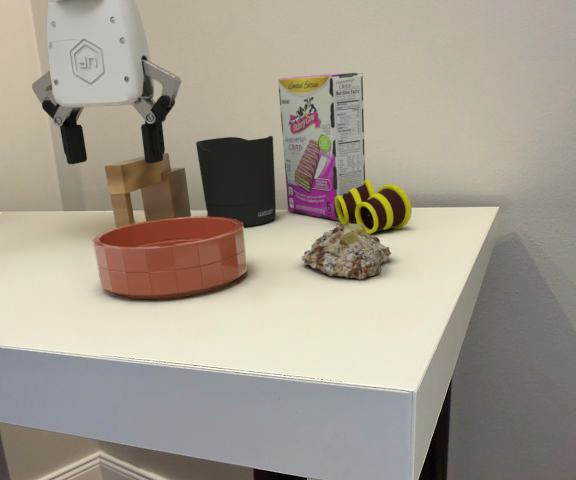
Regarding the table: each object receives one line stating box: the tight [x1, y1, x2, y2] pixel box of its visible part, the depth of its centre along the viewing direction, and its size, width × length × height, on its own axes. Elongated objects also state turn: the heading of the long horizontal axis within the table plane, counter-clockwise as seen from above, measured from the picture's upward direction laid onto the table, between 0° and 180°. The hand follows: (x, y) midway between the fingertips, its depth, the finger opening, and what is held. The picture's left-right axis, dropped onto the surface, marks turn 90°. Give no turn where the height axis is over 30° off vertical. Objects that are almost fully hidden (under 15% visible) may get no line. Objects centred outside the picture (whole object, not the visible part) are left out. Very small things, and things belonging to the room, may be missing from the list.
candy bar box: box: [277, 72, 366, 221], centre depth 82 cm, size 11×5×16 cm, turn 34°
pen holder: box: [195, 135, 277, 228], centre depth 82 cm, size 9×9×10 cm
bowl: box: [91, 215, 248, 300], centre depth 59 cm, size 13×13×4 cm
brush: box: [104, 152, 192, 228], centre depth 78 cm, size 14×4×9 cm, turn 164°
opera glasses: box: [335, 179, 413, 235], centre depth 74 cm, size 10×5×5 cm, turn 22°
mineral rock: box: [301, 222, 392, 281], centre depth 60 cm, size 11×4×8 cm
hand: (115, 162), depth 74 cm, fingers open, 9 cm apart
